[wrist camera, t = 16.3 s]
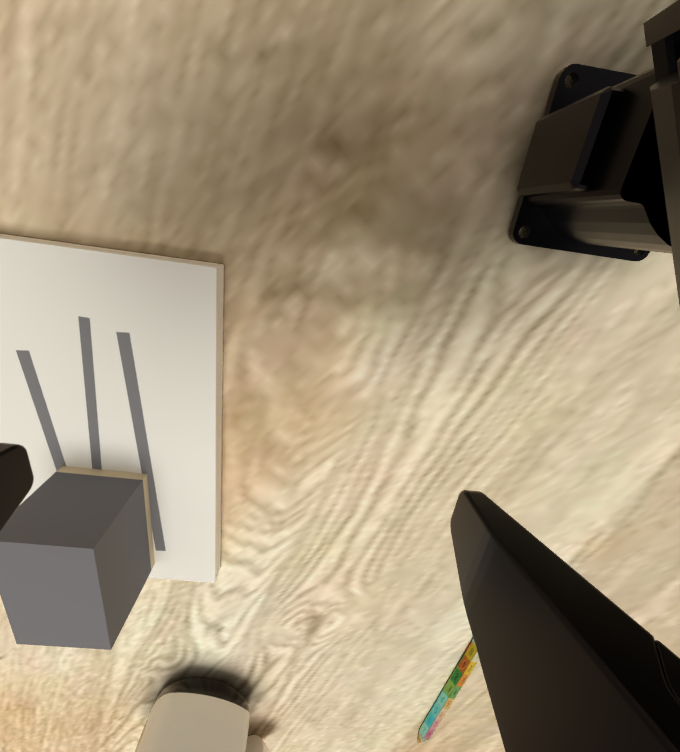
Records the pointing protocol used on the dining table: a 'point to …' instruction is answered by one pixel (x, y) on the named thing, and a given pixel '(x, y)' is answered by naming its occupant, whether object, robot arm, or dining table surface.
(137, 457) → the board
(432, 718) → the pencil
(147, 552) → the block
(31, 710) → the dining table surface
